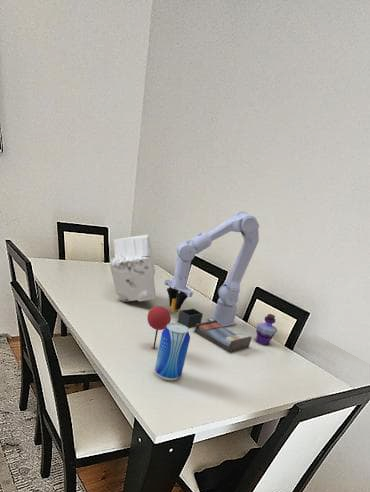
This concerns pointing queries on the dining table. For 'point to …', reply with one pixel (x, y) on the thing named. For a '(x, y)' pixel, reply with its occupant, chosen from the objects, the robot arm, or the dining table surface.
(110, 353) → the dining table surface
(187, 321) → the bin
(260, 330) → the potion bottle
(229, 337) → the bed
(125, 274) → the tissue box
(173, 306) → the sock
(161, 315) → the lollipop
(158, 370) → the beer can
